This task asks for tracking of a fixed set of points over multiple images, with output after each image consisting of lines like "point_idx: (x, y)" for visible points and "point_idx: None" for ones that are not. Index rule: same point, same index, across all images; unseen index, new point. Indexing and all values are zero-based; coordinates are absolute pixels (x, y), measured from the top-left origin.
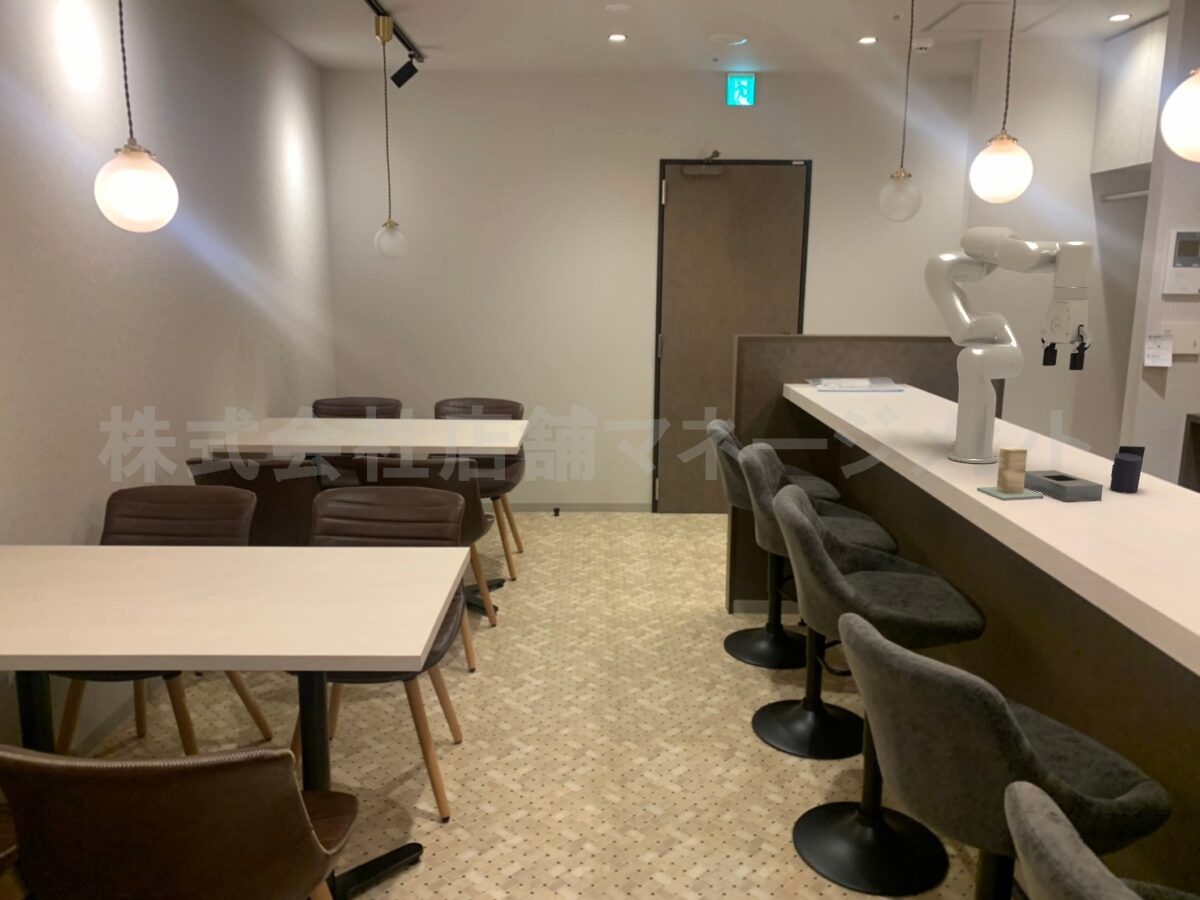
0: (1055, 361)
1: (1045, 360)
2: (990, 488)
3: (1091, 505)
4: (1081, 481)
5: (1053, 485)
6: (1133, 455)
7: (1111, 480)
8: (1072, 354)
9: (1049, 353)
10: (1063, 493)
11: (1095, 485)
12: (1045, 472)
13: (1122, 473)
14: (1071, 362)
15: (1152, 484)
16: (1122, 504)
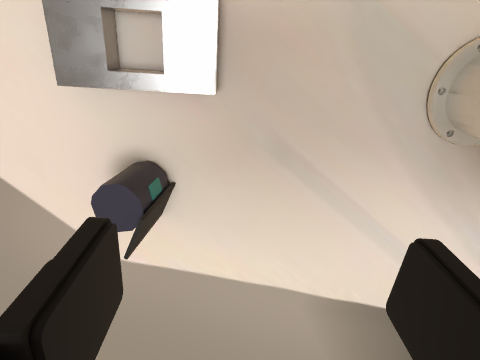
0: (398, 328)
1: (435, 267)
2: None
3: (30, 26)
4: (94, 65)
5: None
6: (123, 223)
7: (147, 167)
8: (5, 319)
9: (467, 348)
10: None
11: (54, 66)
12: (197, 54)
13: (116, 175)
14: (61, 253)
15: (180, 252)
16: (40, 96)
